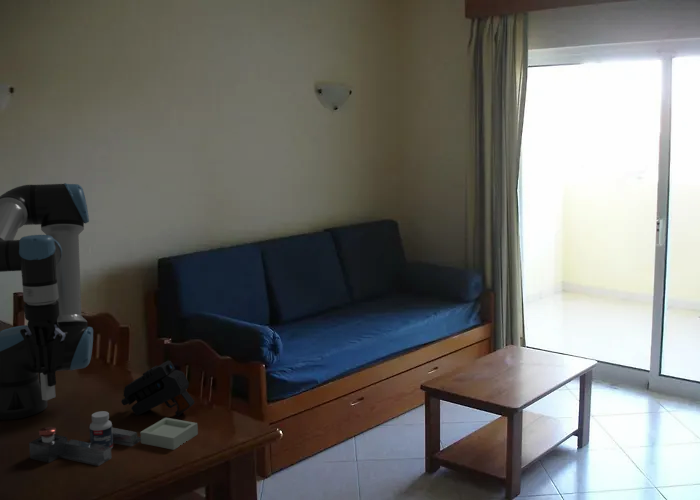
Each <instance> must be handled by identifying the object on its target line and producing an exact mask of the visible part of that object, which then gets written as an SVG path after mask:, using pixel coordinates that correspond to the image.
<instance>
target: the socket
mask: <svg viewBox="0 0 700 500" xmlns="http://www.w3.org/2000/svg"><path fill="white" fill-rule="evenodd" d="M112 434H113V444H117V445H121V446H126V447H133V446H135V445H136V444H139V443H141V436H138V432H137V431H132V430H126V429H122V428H116V427H112ZM67 441H68V442H66V443H65V452H64V453H62V454H60V455H59V458H58V459H64V460H70V461H74V462H78V463H82V464H86V465H92V466H96V467H99V466H101V465H103V464H104V463H106V462H109V460H111V459H112V449H111V447H107V446H102V445H98V444H93V443H90V442H87V441H81V440H77V439H74V438H73V439H72V438H71V439H70V440H67Z"/></svg>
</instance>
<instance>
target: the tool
mask: <svg viewBox="0 0 700 500" xmlns="http://www.w3.org/2000/svg"><path fill="white" fill-rule="evenodd" d="M187 378H188V377H186V375H185V373H184V371H181V370H178V369H176V368H175V366H174V364H173V363H172V361H171V360H166V361H165V362H163V363H161V364H159V365H154V366H153V367H151V368H150V369H148V370H147V371H145V372H143V373H142V375H141V376H139V377H138V378H136V379H134V380H133V381H131V382H130V383H129V384H126V385H125V387H124V389H123V397H124V398H122V399H121V401H120V402H121V404H122V405H123V406H127V405H129V406H130V405H132V404H133V403H134V404H133V405H132V406H131V407H130V408H131V410H132V412H133V414H134V415H136V416H140V415H142V414H144V413H147V411H150V410H152V409H154V408H155V407H158V406H160V405H162V404H165V405H166V407H168V408H169V409H170V408H172V409H173V408H174V407H175V406H176V408H177V410H176V411H175V412H174V414H175V415H176V416H177V417H180V416H181V415H182V414H183V413H184V412H186V411H187V410H188V409H190V408H191V407H192V406H193V405H194V404H195V399H193V397H192V396H191V395H190V393H189V392H188V391H187V389H189V385H190V383H189V381H188V379H187ZM169 401H172V403H173V404H172V405H171V404H170V403H169ZM135 402H136V403H135Z"/></svg>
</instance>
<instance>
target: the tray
mask: <svg viewBox="0 0 700 500" xmlns="http://www.w3.org/2000/svg"><path fill="white" fill-rule="evenodd" d="M198 428H199V427H198V422H194V421H193V422H192V421H187V420H181V419H176V418H170V417H163V418H162V419H161V420H158V421H157V422H155V423H154V424H151V425H150V426H148V427H146V428H145V429H143V430H142V431H140V432H139V434H140V437H141V441H140V443H141V444H142V445H148V446H154V447H158V448H164V449H168V450H172V451H173V450H176V449H177V448H179V447H180V445H181V446H183V445H184V444H185V443H186V441H187V442H188V441H190V440H192V439H193V438H194V437H196V436H197V435H198V434H199V429H198ZM183 443H184V444H183Z"/></svg>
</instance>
